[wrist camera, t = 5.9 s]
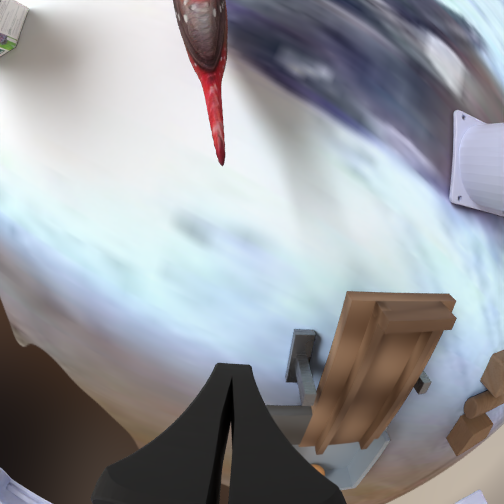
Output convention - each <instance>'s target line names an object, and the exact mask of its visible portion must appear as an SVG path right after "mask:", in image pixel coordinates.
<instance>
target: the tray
mask: <svg viewBox="0 0 504 504" xmlns="http://www.w3.org/2000/svg"><path fill="white" fill-rule="evenodd" d="M387 429H388V426H387V427H386V429H385V430H384V431H383V433H382V434H381V435H380V437H379V438H378V439H374V440H373V442H372V443H371V444H370V445H369V447H368V448H367V449H363V450H361V448H360V444H359V442H354V443H345V444H336V445H328V446H327V448H326V450H325V451H324V453H323V454H322V455H316V451H315V446H311V447H299V446H298V445H292V446H293V447H294V448H295V449H296V450H297V451H298V452H299V453H300V454H301V455H302V456H303V457H304V458H305V459H306V460H307V461H308V462H309V463H310V464H317V465H320V466H321V467H322V468H323V469H324V471H325V477H326V478H328V479H329V480H330V481H332V482H333V483H334V484H336V485H337V486H338V487H339V489H340V490H345V489H351V488H355V487H356V486H357V485H358V484H359V483H360V481H361V480H362V479H363V478H364V476H365V475H366V474H367V473H368V471H369V470H370V469H371V467H372V466H373V465H374V463H375V462H376V461H377V459H378V458H379V456H380V455H381V454H382V452H383V451H384V449H385V448H386V446H387V445H388V443H389V442H390V439H389V436H388V434H387V432H386V430H387Z"/></svg>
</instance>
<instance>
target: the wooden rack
mask: <svg viewBox="0 0 504 504" xmlns="http://www.w3.org/2000/svg"><path fill="white" fill-rule="evenodd" d="M455 303H456V300H455V299H454V298H453V297H452V296H451V295H450V294H428V293H383V292H354V291H347V293H346V297H345V301H344V304H343V308H342V312H341V315H340V319H339V322H338V326H337V329H336V333H335V336H334V339H333V343H332V346H331V349H330V352H329V355H328V359H327V362H326V365H325V368H324V371H323V374H322V376H321V379H320V382H319V385H318V388H317V391H316V393H317V395H316V399H315V402H314V405H313V406H274V405H266V407H267V409H268V411H269V413H270V414H271V416H272V418H273V419H274V421H275V423H276V424H277V426H278V427H279V429H280V430H281V431H282V433H283V434H284V436H285V437H286V438H287V439H288V441H289V442H290V443H291V444H292V445H298V446H299V447H311V446H315V451H316V455H322V454H323V453H324V451H325V450H326V448H327V446H328V445H336V444H345V443H354V442H359V444H360V448H361V450H363V449H367V448H368V447H369V445H370V444H371V443H372V442H373V440H374V439H378V438H379V437H380V435H381V434H382V433H383V431H384V430H385V429H386V427H387V426H388V425H389V423H390V422H391V420H392V419H393V418H394V416H395V415H396V413H397V412H398V410H399V409H400V407H401V406H402V404H403V403H404V401H405V400H406V398H407V397H408V395H409V393H410V392H411V390H412V389H413V387H414V385H415V384H416V382H417V380H418V378H419V377H420V375H421V373H422V372H423V370H424V368H425V366H426V364H427V362H428V361H429V359H430V357H431V355H432V353H433V351H434V349H435V347H436V345H437V343H438V341H439V339H440V337H441V335H442V333H443V331H444V330H452V328H453V325H454V323H455V321H456V319H457V318H456V317H455V316H454V315H453V314H452V310H453V308H454V305H455Z"/></svg>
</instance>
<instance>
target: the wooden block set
mask: <svg viewBox="0 0 504 504" xmlns="http://www.w3.org/2000/svg"><path fill="white" fill-rule="evenodd" d="M480 381H481V382H482V384H483V385H484V386H485V387H486V388H487V389H488V390H487V391H485V392H483V393H480V394H478V395H476V396H473V397H471V398H469V399H468V400H467V401H466V402H465V405H464V413H465V414H464V415H462V416H460V418H459V420H458V421H457V423H456V424H455V426H454V427H453V429H452V430H451V432H450V433H449V435H448V436H447V438H446V439H447V441H448V442H449V444H450V446H451V447H452V449H453V451H454V453H455V454H456V456H458V455H460V454H462V453H463V452H465V451H466V450H468V449H470V448H471V447H473V446H474V445H476V444H477V443H479V442H480V441H482V440H483V439H485V438H486V437H487V435H488V433H489V431H490V430H491V428H492V426H493V423H492V421H491V420H490V419H489V417H488V416H487V415H486V412H488V411H490V410H492V409H494V408H496V407H497V406H499V405H501V404H503V403H504V350H502V351H499V352H497V353H494V354H493V355H492V356H491V358H490V360H489V363H488V365H487V367H486V369H485V371H484V373H483V375H482V377H481V380H480Z"/></svg>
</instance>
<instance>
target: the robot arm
mask: <svg viewBox="0 0 504 504" xmlns="http://www.w3.org/2000/svg"><path fill="white" fill-rule="evenodd" d="M462 116H463V119H462ZM458 196H459V200H458ZM449 199H450V201H451V202H452V203H455V204H459V205H463V206H467V207H470V208H474V209H478V210H482V211H485V212H489V213H492V214H496V215H499V216H503V217H504V123H495V124H486V123H484V122H482V121H480V120H478V119H476V118H474V117H472V116H470V115H468V114H466V113H464V112H462V111H460V110H456V111H454V140H453V163H452V176H451V187H450V196H449ZM230 423H231V430H232V464H231V477H230V490H229V502H228V504H346V501H345V499H344V496H343V494H342V492H341V490H340V489H339V487H338V486H337V485H336V484H334V483H333V482H332V481H330V480H329V479H328V478H326V477H325V476H324V475H322V474H321V473H320V472H319V471H318V470H316V469H315V468H314V467H313V466H312V465H311V464H310V463H309V462H308V461H307V460H306V459H305V458H304V457H303V456H302V455H301V454H300V453H299V452H298V451H297V450H296V449H295V448H294V447H293V446H292V444H291V443H290V442H289V441H288V439H287V438H286V437H285V436H284V434H283V433H282V431H281V430H280V429H279V427H278V426H277V424H276V423H275V421H274V419H273V418H272V416H271V414H270V413H269V411H268V409H267V407H266V405H265V403H264V401H263V399H262V397H261V395H260V393H259V390H258V388H257V385H256V382H255V379H254V376H253V372H252V367H251V366H250V365H243V364H228V363H217V364H216V365H215V367H214V370H213V372H212V373H211V375H210V377H209V379H208V380H207V382H206V384H205V385H204V387H203V388H202V390H201V391H200V392H199V394H198V395H197V397H196V398H195V399H194V400H193V402H192V403H191V404H190V405H189V407H188V408H187V409H186V410H185V411H184V412H183V413H182V415H181V416H180V417H179V418H178V419H177V420H176V421H175V422H174V423H173V424H172V425H171V426H169V427H168V428H167V429H166V430H165V431H164V432H163V433H161V434H160V435H159V436H158V437H156V438H155V439H154V440H153V441H151V442H150V443H148V444H147V445H145V446H144V447H142V448H141V449H139V450H138V451H136V452H135V453H133V454H131V455H129V456H128V457H126V458H124V459H122V460H120V461H118V462H116V463H114V464H112V465H110V466H107V467H106V468H105V470H104V471H103V473H102V474H101V476H100V478H99V479H98V481H97V483H96V486H95V489H94V491H93V493H92V496H91V501H92V503H93V504H219V501H220V486H221V474H222V466H223V460H224V454H225V449H226V444H227V439H228V434H229V428H230ZM0 504H52V503H50V502H48V501H47V500H45V499H43V498H41V497H39V496H38V495H36V494H34V493H33V492H31V491H29V490H28V489H26V488H24V487H23V486H21V485H19V484H18V483H16V482H15V481H14V480H12V479H11V478H10V477H9V476H8V474H7V473H6V472H5V471H4V470H3V469H2V468H0ZM455 504H487V501H486V499H485V497H484V496H483V494H482V492H481V490H477V491H475V492H474V493H472V494H470V495H468V496H467V497H465V498H463V499H461V500H459V501H458V502H456V503H455Z"/></svg>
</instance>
